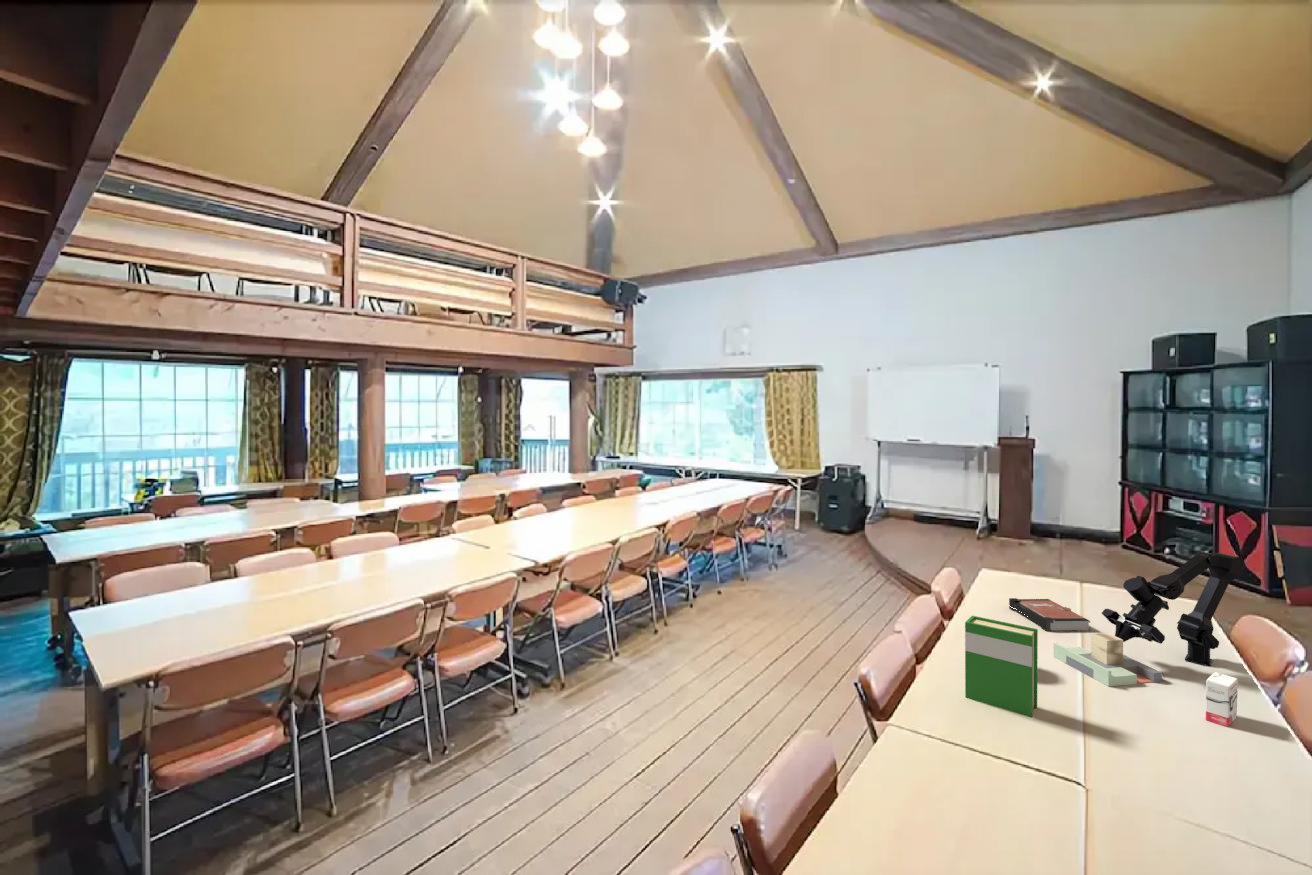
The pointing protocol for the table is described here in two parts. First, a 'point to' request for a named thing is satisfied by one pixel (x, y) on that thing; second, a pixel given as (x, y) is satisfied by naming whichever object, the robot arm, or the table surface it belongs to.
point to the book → (1049, 615)
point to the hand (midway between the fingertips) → (1115, 643)
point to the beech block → (1107, 648)
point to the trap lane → (1107, 667)
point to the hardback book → (1001, 664)
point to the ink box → (1221, 699)
